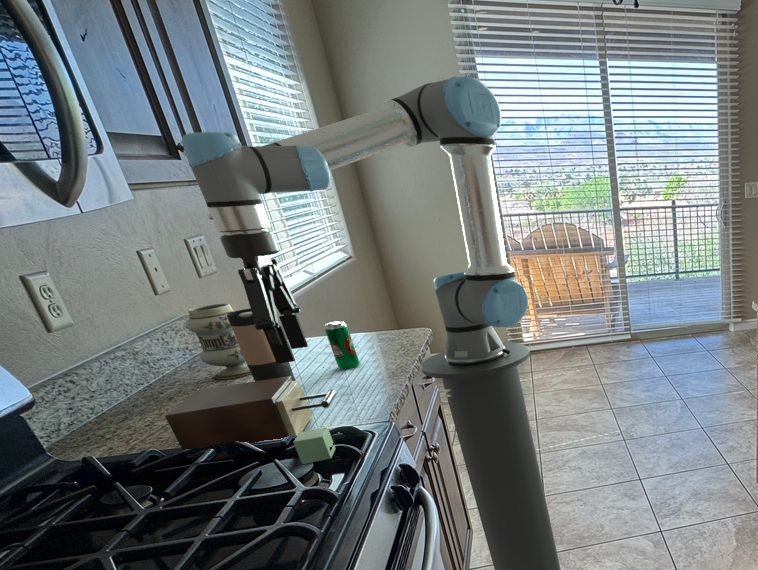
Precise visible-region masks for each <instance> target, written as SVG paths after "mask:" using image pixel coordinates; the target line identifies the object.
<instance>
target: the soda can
mask: <svg viewBox="0 0 758 570" xmlns="http://www.w3.org/2000/svg"><path fill="white" fill-rule="evenodd" d="M324 331H325V334H326V337H327V340H328V343H329V346H330V349H331V352H332V354H333V357H334V360H335V362H336V366H337V368H339V369H340V370H351V369H354V368H357V367H358V366H359V365H360V364H361V363H360V359H359V357H358V354H357V351H356V347H355V344H354V342H353V338H352V336H351V332H350V330H349V328H348V325H347V324H346V323H345V321H344V320H337V321H331V322H328V323H325V324H324Z"/></svg>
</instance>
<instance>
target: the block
mask: <svg viewBox="0 0 758 570" xmlns="http://www.w3.org/2000/svg"><path fill="white" fill-rule="evenodd" d="M333 443H334V439H333V438H332V435H331V432H330V429H329V427H328V426H327V427H321V428H320V427H319V428H315V429H310V430H303V431H302V432H299V433H298V435H297V437H296V438H295V440H294V441H293V445H294V448H295V450H296V452H297V455H298V457H299V460H300V463H301V464H302V465H306V464H310V463H311V464H312V463H316V462H321V461H326V460H331V459H332V458H333V455H334V453H335V451H336V446H335V445H336V444H334V445H333ZM332 445H333V447H332V449H331V451H330V447H331V446H332Z"/></svg>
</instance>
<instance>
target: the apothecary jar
mask: <svg viewBox="0 0 758 570" xmlns="http://www.w3.org/2000/svg"><path fill="white" fill-rule="evenodd" d="M234 311H235V310H234V309H233V307H232V306H231V304H230V303H214V304H207V305H202V306H197V307H193V308H190V309H188V310H187V312H188V317H189V318H188V319H187V320H186V322H185V327H186V329H187V330H188V331H189V332H191V333H195V336H196V337H197V339H198V341H199V344H200V345H201V348H202V351H201V352H200V353H199V354H200V355H199V358H200V360H201V361H202V362H203V363H205V364H207V365H210V366H214V367H225V368H223V369H221V370H220V371H219V372H217V373H216V374H215V375H214V378H215V379H217V380H229V379H235V378H236V379H237V378H241V377H244V376H248V375H252V374H251V372H250V370H249V368H248V366H247V363H246V361H245V359H244V356H243V354H242V351H241V349H240V347H239V344H238V342H237V339H236V337H235V334H234V332H233V330H232V327H231V325H230V322H229V320H228V318H227V314H228V313H231V312H234Z"/></svg>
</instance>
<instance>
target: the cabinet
mask: <svg viewBox="0 0 758 570" xmlns="http://www.w3.org/2000/svg"><path fill="white" fill-rule="evenodd" d="M291 382H292V378H291V376H288V377H282V378H275V379H269V380H262V381H255V380H254V381H250V382H249V381H248V382H243V383H237V384H236V383H235V384H230V385H222V386H215V387H209V388H202V389H196V390H194V391H193V392H192V393H191V394H190V395H188V396H187V397H186V398H185V399H183V400H181V402H180V403H178V404H177V405H176V406H175V407H173V408H172V409H171V410H170V411H169V412H167V413H166V414H165V415H164V417H165V419H166V422H167V423H168V424H169V427H170V429H171V430H172V431H171V432H172V433H173V434H174V436H175V438H176V440H177V442H178V444H179V446H180V448H181V450H182V451H183V450H185V449H194V448H204V447H209V446H210V445H215V444H220V443H226V442H234V441H239V442H249V443H255V442H259V441H264V440H273V439H281V438H284V437H287V436H289V435H288V432H287V430H286V428H285V425H284V423H283V420H282V418H281V416H280V413H279V411H278V409H277V406H276V404H275V400H276V399H277V398H278V397H279V395H280V394H281V393H282V392H283V391H284V389H286V388H287V387H288V386H289V384H290V383H291ZM239 456H240V455H223V456H218V457H216V458H214V459H213V460H212V461H216V460H222V459H223V460H224V459H228V458H234V457H239Z"/></svg>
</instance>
